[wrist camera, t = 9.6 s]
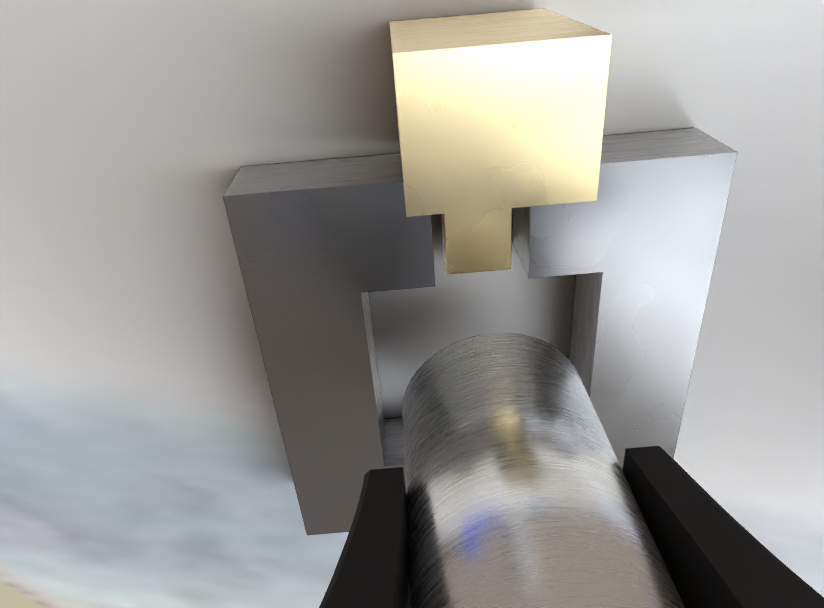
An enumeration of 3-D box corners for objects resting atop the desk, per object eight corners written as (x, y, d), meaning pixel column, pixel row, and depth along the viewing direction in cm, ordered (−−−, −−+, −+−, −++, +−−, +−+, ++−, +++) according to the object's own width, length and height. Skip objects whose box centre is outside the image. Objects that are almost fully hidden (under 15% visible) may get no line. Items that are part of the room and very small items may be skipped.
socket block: (695, 127, 13) (737, 152, 12) (639, 457, 18) (663, 504, 17) (241, 166, 13) (222, 195, 12) (312, 485, 18) (306, 535, 17)
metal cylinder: (590, 325, 12) (789, 690, 6) (576, 465, 14) (716, 842, 8) (394, 341, 12) (405, 722, 6) (409, 479, 14) (427, 865, 8)
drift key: (543, 8, 12) (612, 34, 8) (535, 242, 14) (584, 337, 11) (389, 21, 12) (392, 53, 8) (409, 253, 14) (417, 351, 11)
